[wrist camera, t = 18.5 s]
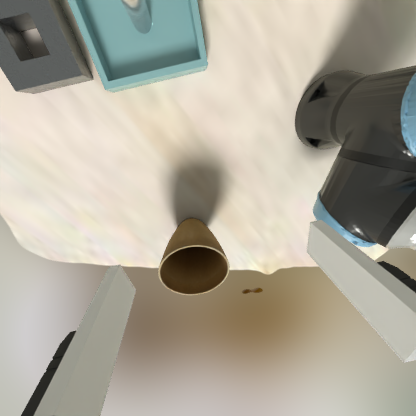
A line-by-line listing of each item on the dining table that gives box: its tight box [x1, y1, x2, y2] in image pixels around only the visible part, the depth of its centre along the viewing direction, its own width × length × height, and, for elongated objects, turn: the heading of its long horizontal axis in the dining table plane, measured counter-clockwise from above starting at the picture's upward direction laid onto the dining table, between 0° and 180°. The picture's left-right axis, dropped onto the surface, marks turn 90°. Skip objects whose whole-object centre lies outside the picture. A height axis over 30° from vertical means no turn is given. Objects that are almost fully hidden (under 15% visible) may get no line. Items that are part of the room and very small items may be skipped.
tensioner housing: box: [0, 0, 93, 94], centre depth 27 cm, size 11×11×4 cm
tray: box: [68, 0, 208, 92], centre depth 27 cm, size 18×16×4 cm
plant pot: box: [158, 218, 229, 295], centre depth 43 cm, size 15×15×16 cm
